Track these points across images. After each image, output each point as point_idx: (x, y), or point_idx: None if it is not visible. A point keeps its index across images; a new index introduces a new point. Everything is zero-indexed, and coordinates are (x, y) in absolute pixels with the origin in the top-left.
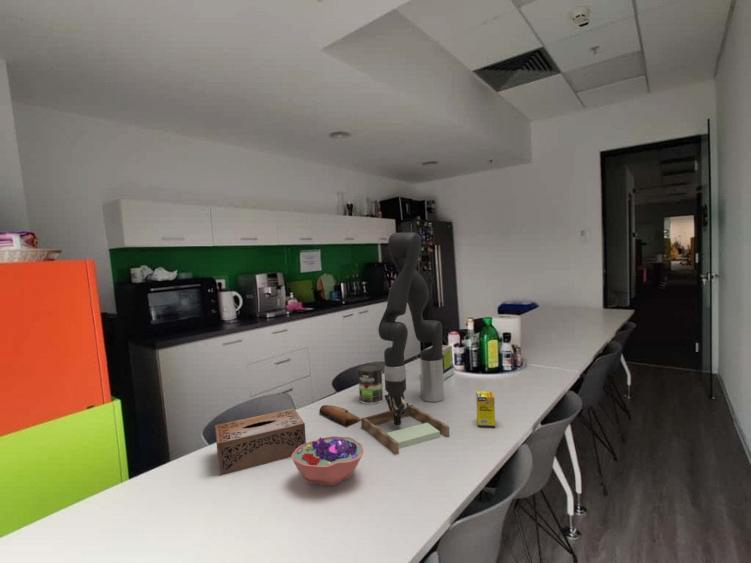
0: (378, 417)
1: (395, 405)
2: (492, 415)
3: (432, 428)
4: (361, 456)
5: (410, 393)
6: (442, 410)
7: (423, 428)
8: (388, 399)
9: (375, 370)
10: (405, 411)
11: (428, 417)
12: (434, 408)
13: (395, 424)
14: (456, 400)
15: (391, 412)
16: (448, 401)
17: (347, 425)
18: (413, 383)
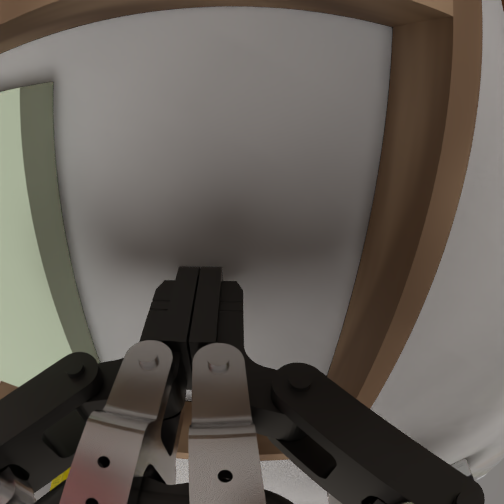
0: (412, 196)
1: (74, 481)
2: (51, 486)
3: (24, 381)
4: None
5: (459, 433)
6: None
7: (26, 359)
8: (392, 499)
9: None
10: (54, 431)
11: None
12: (292, 462)
13: (186, 268)
14: (290, 492)
15: (372, 348)
16: (303, 485)
17: None
18: (480, 442)
